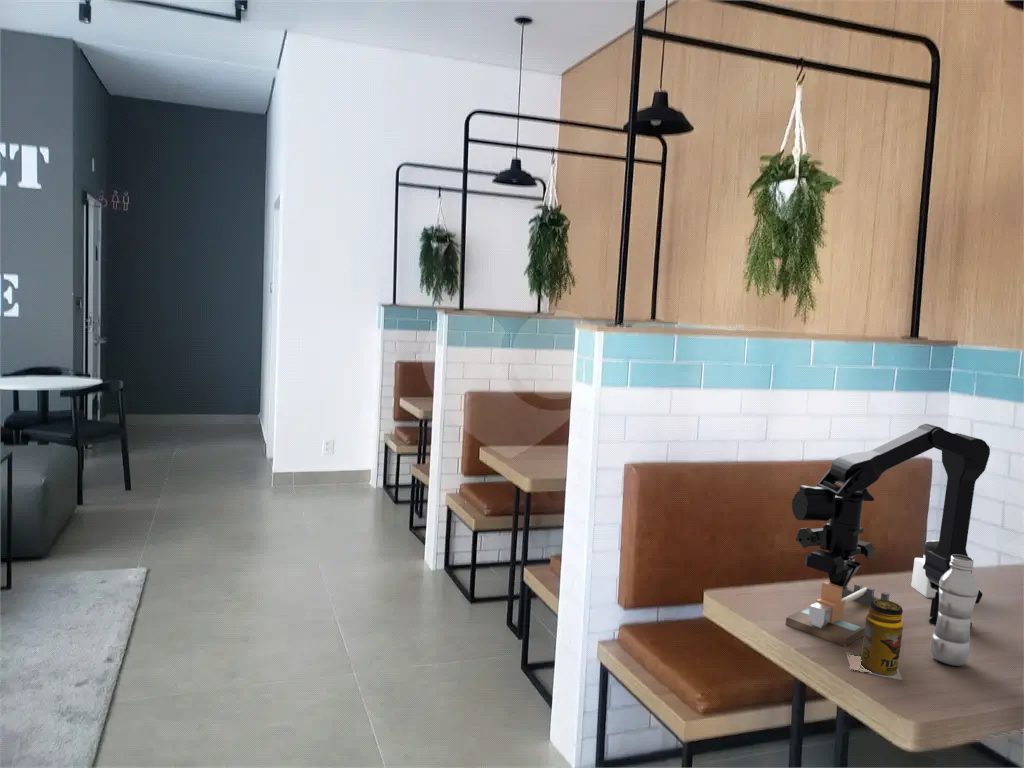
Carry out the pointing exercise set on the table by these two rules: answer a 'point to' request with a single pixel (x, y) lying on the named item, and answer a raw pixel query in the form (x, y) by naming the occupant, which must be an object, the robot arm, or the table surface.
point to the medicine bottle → (923, 573)
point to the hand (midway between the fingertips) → (835, 596)
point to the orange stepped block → (832, 600)
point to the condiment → (882, 639)
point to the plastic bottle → (955, 612)
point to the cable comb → (866, 597)
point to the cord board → (835, 623)
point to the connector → (819, 615)
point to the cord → (855, 595)
